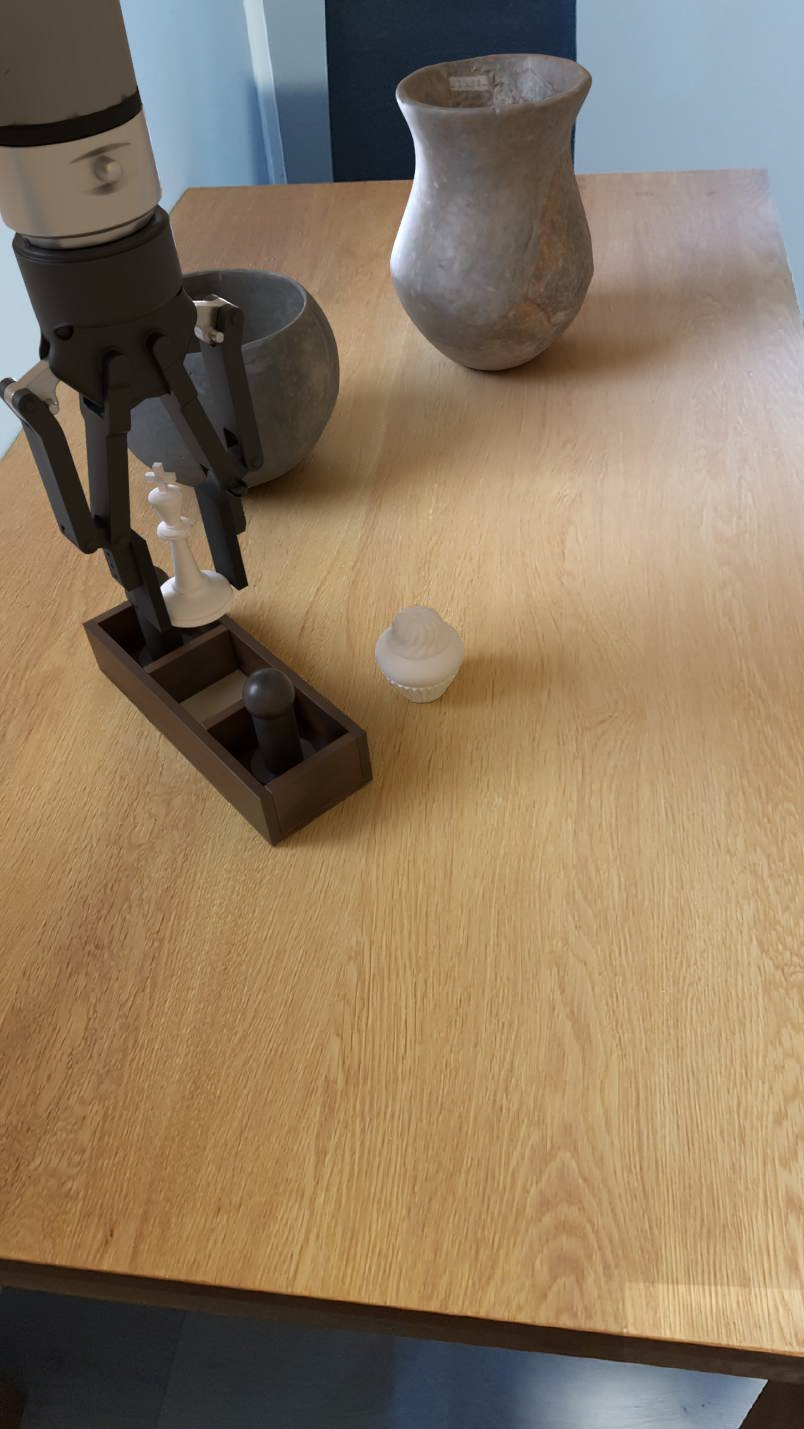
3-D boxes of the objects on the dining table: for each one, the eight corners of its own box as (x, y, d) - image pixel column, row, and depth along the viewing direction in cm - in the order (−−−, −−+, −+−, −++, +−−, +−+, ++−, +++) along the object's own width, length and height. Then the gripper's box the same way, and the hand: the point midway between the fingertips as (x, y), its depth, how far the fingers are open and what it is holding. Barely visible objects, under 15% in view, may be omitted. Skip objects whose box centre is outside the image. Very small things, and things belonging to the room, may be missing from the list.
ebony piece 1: (161, 694, 77) (130, 599, 71) (131, 664, 79) (98, 569, 73) (213, 665, 79) (186, 569, 72) (182, 636, 81) (153, 541, 75)
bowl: (339, 528, 90) (314, 362, 80) (103, 535, 92) (48, 373, 82) (360, 404, 104) (342, 249, 94) (156, 413, 107) (115, 262, 96)
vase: (362, 354, 112) (332, 86, 94) (501, 294, 119) (498, 35, 101) (485, 425, 100) (478, 135, 82) (631, 354, 107) (654, 73, 90)
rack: (273, 847, 67) (260, 800, 64) (99, 670, 80) (81, 623, 77) (373, 780, 70) (366, 731, 67) (191, 620, 83) (178, 573, 80)
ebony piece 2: (278, 809, 68) (254, 712, 62) (240, 771, 71) (213, 675, 65) (333, 773, 70) (315, 675, 64) (294, 738, 73) (273, 640, 66)
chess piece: (171, 576, 70) (130, 440, 63) (243, 579, 69) (211, 442, 62) (145, 625, 66) (100, 488, 59) (221, 630, 65) (184, 491, 58)
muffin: (416, 647, 79) (409, 571, 74) (483, 679, 76) (481, 603, 71) (361, 695, 76) (350, 620, 71) (429, 731, 73) (423, 655, 68)
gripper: (-61, 306, 45) (96, 700, 62) (287, 178, 52) (344, 561, 69) (-124, 258, 49) (38, 638, 66) (205, 147, 57) (277, 514, 73)
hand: (194, 598), depth 67 cm, fingers closed on chess piece, 5 cm apart
